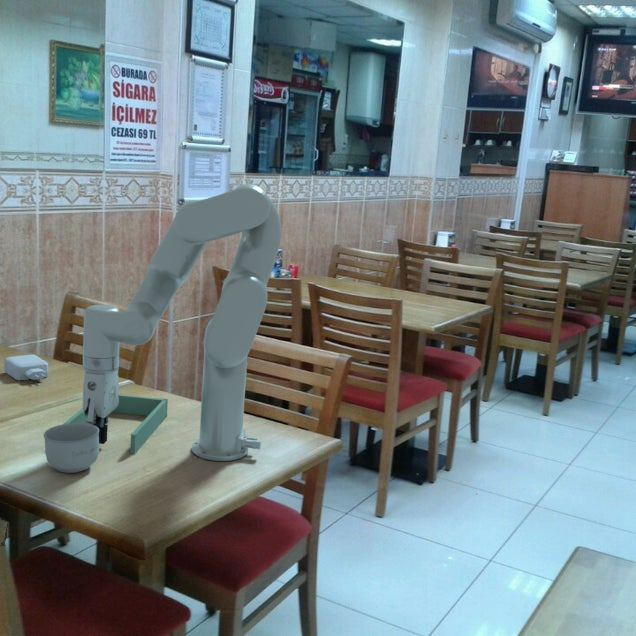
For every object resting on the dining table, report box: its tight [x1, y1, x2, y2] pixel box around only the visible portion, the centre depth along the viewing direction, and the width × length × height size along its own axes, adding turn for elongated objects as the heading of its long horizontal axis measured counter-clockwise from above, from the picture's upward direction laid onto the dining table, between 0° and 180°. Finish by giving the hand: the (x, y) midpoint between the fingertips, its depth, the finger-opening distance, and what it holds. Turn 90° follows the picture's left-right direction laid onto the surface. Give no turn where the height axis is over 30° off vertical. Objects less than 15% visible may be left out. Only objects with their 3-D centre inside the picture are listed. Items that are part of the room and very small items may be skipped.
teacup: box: [43, 421, 100, 474], centre depth 155 cm, size 14×11×8 cm
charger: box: [3, 354, 50, 382], centre depth 210 cm, size 5×9×15 cm
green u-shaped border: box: [61, 393, 169, 455], centre depth 176 cm, size 17×26×4 cm, turn 175°
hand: (98, 441), depth 166 cm, fingers closed
